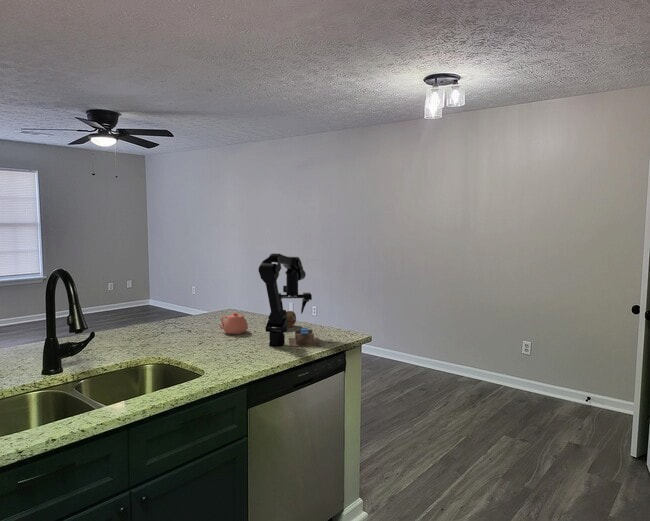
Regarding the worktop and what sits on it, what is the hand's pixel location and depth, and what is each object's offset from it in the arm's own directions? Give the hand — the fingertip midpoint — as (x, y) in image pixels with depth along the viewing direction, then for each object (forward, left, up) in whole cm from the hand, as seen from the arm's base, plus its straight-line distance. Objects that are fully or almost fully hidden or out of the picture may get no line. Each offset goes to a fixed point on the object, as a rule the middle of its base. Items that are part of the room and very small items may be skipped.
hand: (292, 313), depth 227 cm
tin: (-3, +18, -11) cm, 21 cm away
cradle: (+5, -13, -11) cm, 18 cm away
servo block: (+5, -13, -10) cm, 17 cm away
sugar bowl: (-29, +9, -11) cm, 32 cm away
